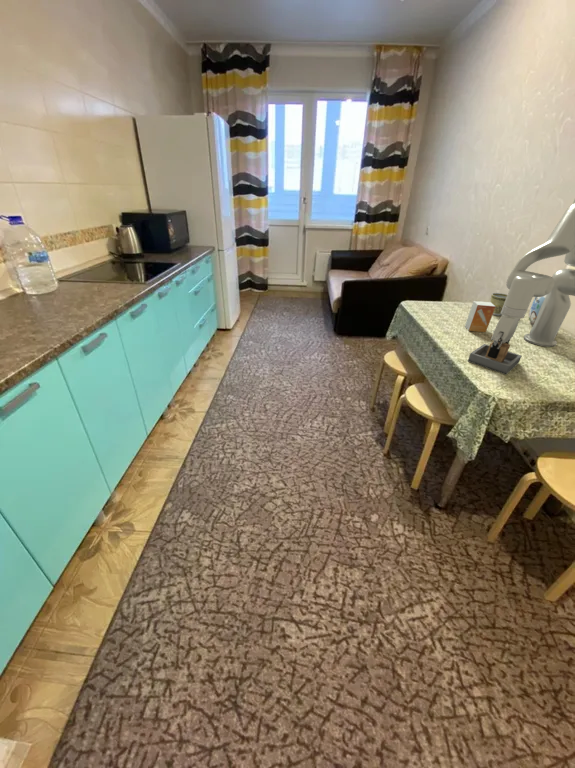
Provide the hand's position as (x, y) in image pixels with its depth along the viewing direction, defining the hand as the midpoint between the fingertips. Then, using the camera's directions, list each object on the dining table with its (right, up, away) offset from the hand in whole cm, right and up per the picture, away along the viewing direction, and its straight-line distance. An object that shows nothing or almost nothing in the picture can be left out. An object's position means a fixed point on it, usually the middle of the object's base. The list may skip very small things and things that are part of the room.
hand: (496, 353), depth 128 cm
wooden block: (0, -3, +2) cm, 3 cm away
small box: (+10, +15, +32) cm, 37 cm away
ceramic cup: (+34, +26, +53) cm, 68 cm away
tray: (0, -3, +2) cm, 4 cm away
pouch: (+42, +16, +37) cm, 58 cm away
